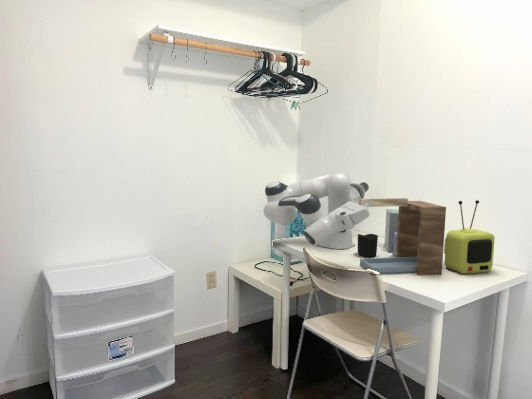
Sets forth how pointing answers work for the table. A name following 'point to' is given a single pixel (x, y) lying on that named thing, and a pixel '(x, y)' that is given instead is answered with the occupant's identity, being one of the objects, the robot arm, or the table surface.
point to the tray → (391, 265)
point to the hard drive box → (391, 227)
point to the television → (469, 249)
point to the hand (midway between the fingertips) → (369, 201)
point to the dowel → (385, 202)
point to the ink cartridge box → (394, 244)
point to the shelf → (422, 235)
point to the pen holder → (367, 245)
